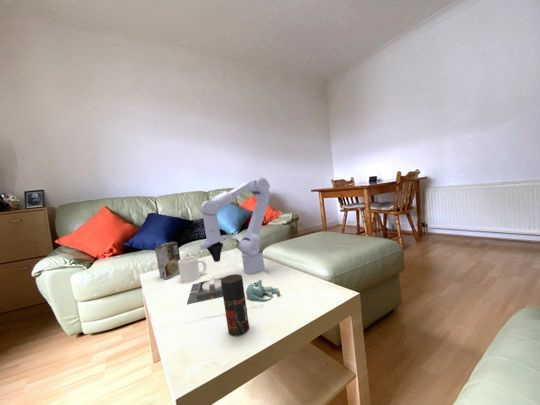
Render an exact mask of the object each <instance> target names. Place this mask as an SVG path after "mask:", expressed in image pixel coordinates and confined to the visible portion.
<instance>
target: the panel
mask: <svg viewBox="0 0 540 405" xmlns="http://www.w3.org/2000/svg"><path fill="white" fill-rule="evenodd" d="M224 277H225V276H224ZM224 277H219V278H217V279H220V280H221V279H222V278H224ZM207 281H210V279H208V280H204V281H200V282H197V283H193V284H192V286H191V289H190V291H189V295H188V298H187V302H186V305H187V306H188V305H190V304H191V305H192V304H197V303H202V302H205V301H211V300H215V299H219V298H223V292H222V288H221V289H216V290H215V291H213V292H210V291H207V292H203V288H202V285H203V284H204V283H205V282H207Z"/></svg>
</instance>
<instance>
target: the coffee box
mask: <svg viewBox="0 0 540 405" xmlns="http://www.w3.org/2000/svg"><path fill="white" fill-rule="evenodd" d="M154 250H155V256H156V261H157V262H156V263H157V268H158V273H159V278H160V279H162V280H163V279H164V280H166V281H167V280H169V279H171V278H174V277H176V276H178V275H180V271H179V264H178V261H179V260H181V259H182V258H181V255H180V254H181V253H180V250H179V245H178V242H177V241H169V242H165V243H162V244H159V245H157V246H154Z"/></svg>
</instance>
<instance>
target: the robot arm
mask: <svg viewBox="0 0 540 405" xmlns="http://www.w3.org/2000/svg"><path fill="white" fill-rule="evenodd" d="M270 187H271V186H270V182H269V181H268V180H267V178H265V177H258V178H251V179H249V180H246V181H243V183H241V184H239V185H238V186H236V187H235V188H232V189H231V190H230V191H225V190H223V191H222V190H221V191H219V192H218V194H217V195H215V196H213V197H212V196H210V197H209V198H208V199H209V200H204V201H203V202H201V204H200V206H199V207H200V208H199V212H200V213H201V214H202V216H203V217H202V219H203V225H204V232H205V237H206V238H205V239H206V240H205V241H204V242H202V243H201V244H200V245H199V248H200V250H201V251H203V250H207V251H208V252H209V254H210V255H211V257H212V260H213V261H214V262H215V263H216V262H217V263H219V262H220V261H221V255H222V250H223V247H224V243H223V241H226V240H228V238H227V234H225V235H224V234H223V235H221V232H220V231H221V230H220V225H219V218H218V212H219V210H221V209H223V208H224V207H226V206H228V205H230V204H231V203H232V201H233V199H234V198H236V197H238V196H239V195H241V194H243V193H245V192H247V191H249V192H250V193H251V194H252V195H253V196H254V197H255V198H256V202H255V206H254V208H253V212H252V215H251V218H250V221H249V223H248V227H247V231H246V232H245V233H244V234H243V235H242V238H241V239H240V241H238V245H237V246H238V250H239V251H240V252H241V259H242V265H243V272H244V274H246V275H254V274H257V273H260V272H266V269H265V261H264V255H263V253H262V252H260V243H261V239H260V236H259V235H260V230H261V228H262V225H263V222H264V217H265V216H266V211H267V208H268V205H269V202H270V191H269V190H270Z"/></svg>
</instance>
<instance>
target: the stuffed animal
mask: <svg viewBox="0 0 540 405" xmlns="http://www.w3.org/2000/svg"><path fill="white" fill-rule="evenodd" d="M262 282H263V280H262V279H258V280H257V281H256V282H253V283H252V282H251V283H249V285H248V286H247V287H246V290H245V297H246V298H247V299H248V300H252V301H256V302H267V301H270V300H272V299H274V296H273V295H274V294H275V295H280V293H281V291H280V289H279V288H278V287H274V288H273V286H270V285H269V286H263V285H262ZM263 295H266V296H268V297H269V298H264V297H263Z"/></svg>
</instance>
